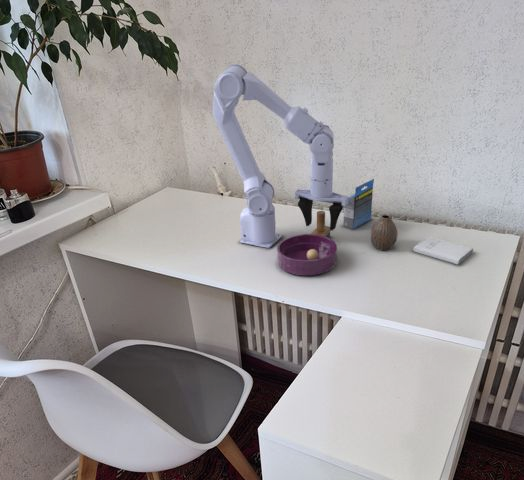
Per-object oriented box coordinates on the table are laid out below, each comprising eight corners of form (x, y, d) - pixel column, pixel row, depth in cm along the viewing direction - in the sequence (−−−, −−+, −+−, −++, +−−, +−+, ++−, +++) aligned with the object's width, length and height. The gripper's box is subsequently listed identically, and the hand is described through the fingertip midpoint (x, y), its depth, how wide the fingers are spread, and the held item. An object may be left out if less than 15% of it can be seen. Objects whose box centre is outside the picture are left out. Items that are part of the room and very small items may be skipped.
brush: (309, 244, 141) (309, 215, 135) (319, 235, 145) (319, 207, 140) (321, 246, 139) (322, 217, 134) (331, 237, 143) (331, 208, 138)
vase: (396, 253, 134) (399, 222, 128) (369, 252, 135) (371, 221, 130) (396, 242, 139) (399, 211, 133) (370, 241, 140) (372, 210, 135)
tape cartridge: (360, 216, 153) (363, 175, 146) (371, 219, 151) (374, 178, 144) (342, 226, 149) (344, 184, 141) (353, 229, 146) (355, 187, 139)
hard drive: (457, 265, 127) (412, 252, 134) (472, 253, 131) (428, 240, 138) (458, 259, 126) (413, 246, 133) (473, 247, 130) (429, 235, 137)
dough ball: (304, 261, 132) (304, 251, 130) (309, 256, 134) (309, 246, 132) (315, 263, 130) (315, 253, 129) (320, 258, 132) (320, 248, 131)
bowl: (267, 270, 131) (266, 254, 128) (293, 245, 141) (293, 230, 138) (321, 282, 124) (321, 266, 121) (345, 255, 134) (346, 240, 132)
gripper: (353, 175, 131) (351, 225, 139) (302, 169, 137) (303, 217, 145) (343, 185, 126) (341, 235, 134) (291, 178, 132) (292, 226, 140)
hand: (320, 226), depth 139 cm, fingers open, 7 cm apart
